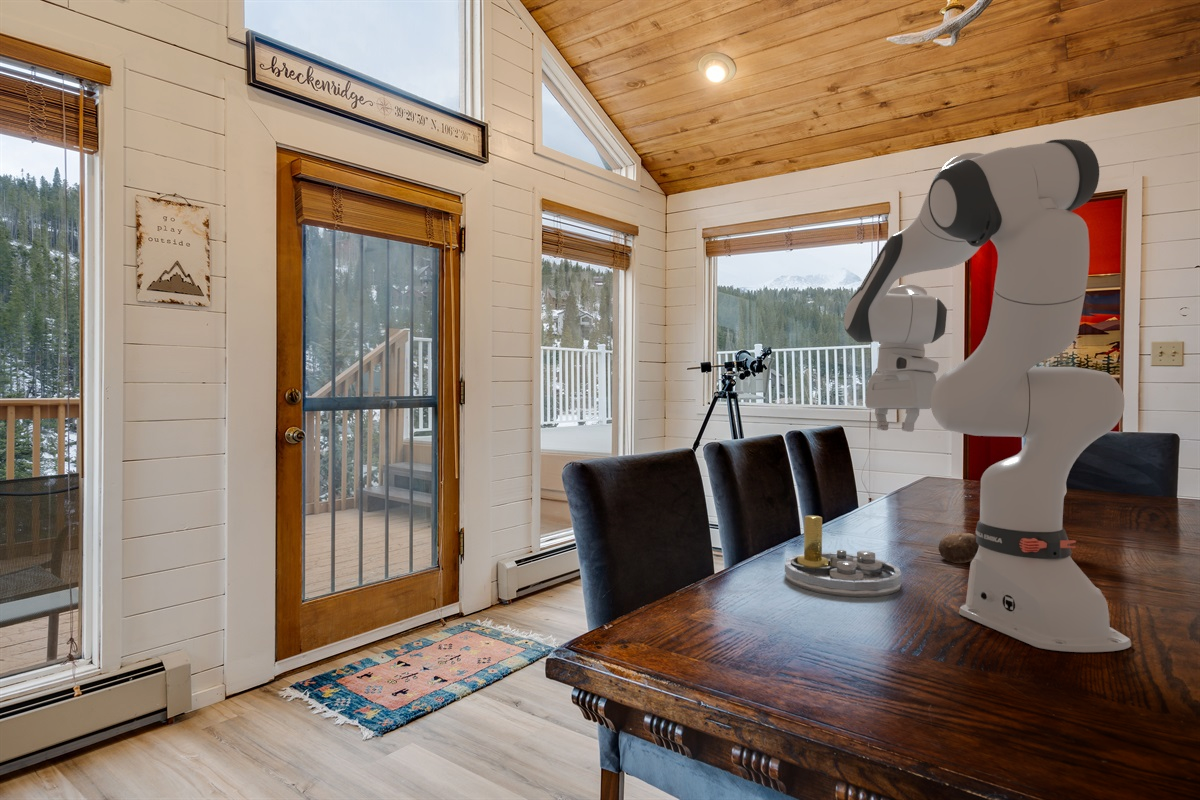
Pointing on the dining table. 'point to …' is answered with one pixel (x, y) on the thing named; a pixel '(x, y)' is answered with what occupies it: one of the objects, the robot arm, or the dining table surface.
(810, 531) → the yellow peg
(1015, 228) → the robot arm
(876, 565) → the carrier
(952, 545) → the brown rounded lump
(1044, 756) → the dining table surface
